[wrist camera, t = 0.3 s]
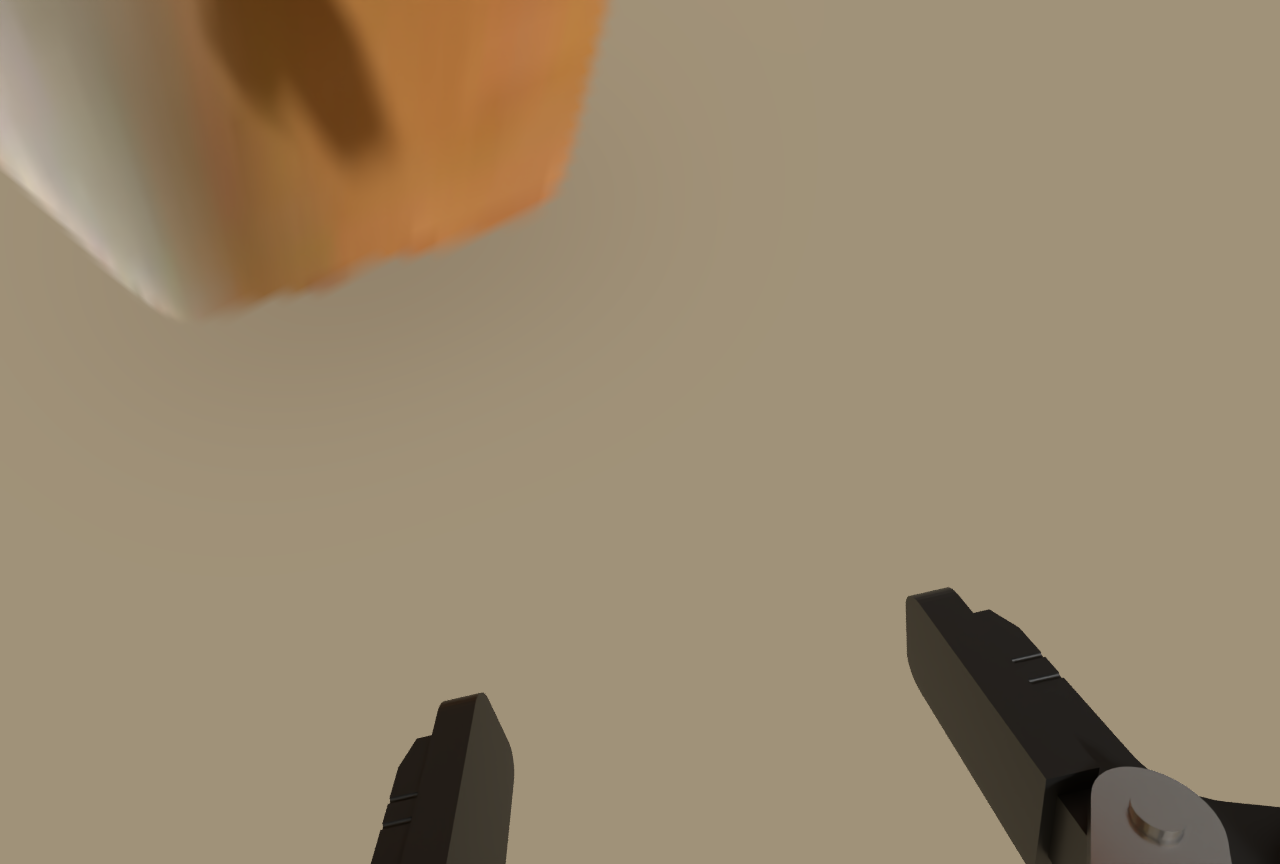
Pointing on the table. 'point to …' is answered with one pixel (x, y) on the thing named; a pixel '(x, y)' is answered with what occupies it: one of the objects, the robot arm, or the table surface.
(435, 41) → the table surface
